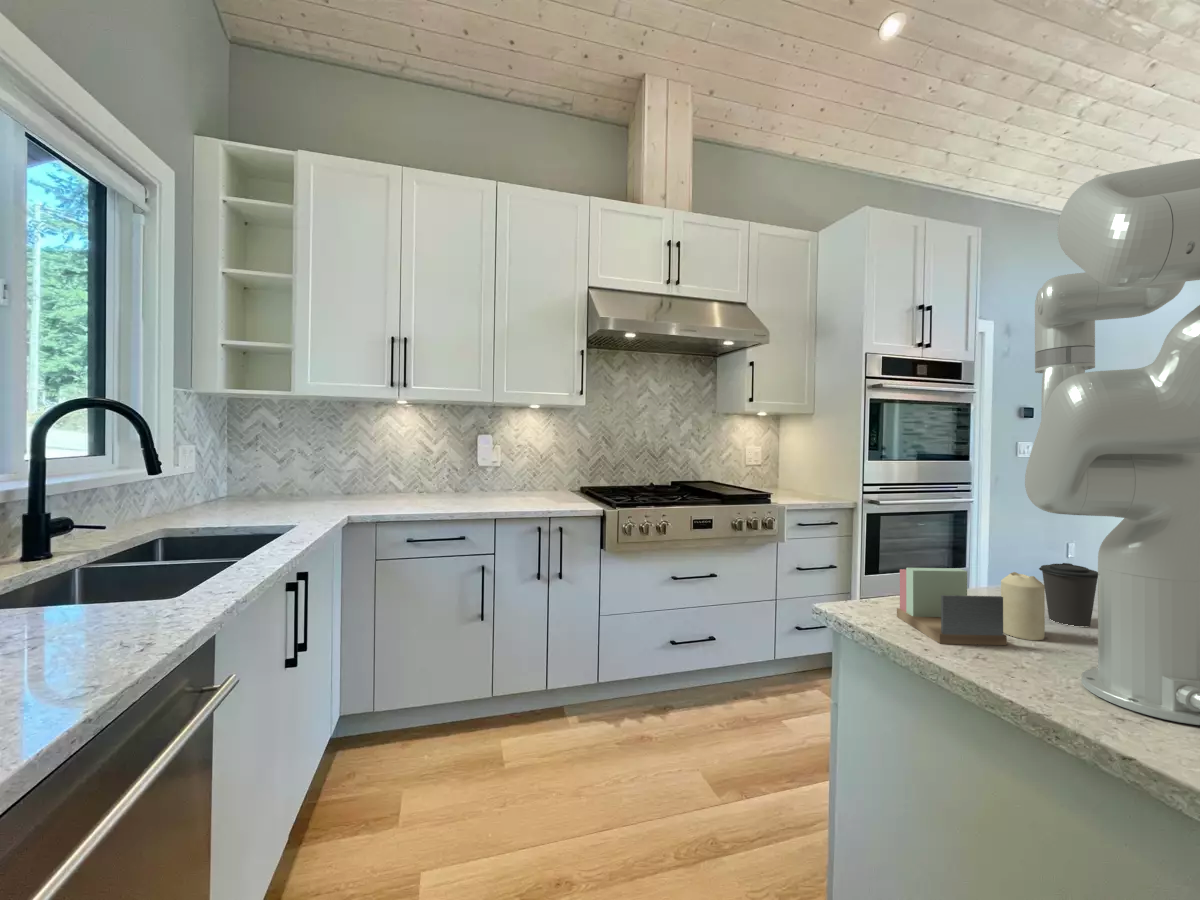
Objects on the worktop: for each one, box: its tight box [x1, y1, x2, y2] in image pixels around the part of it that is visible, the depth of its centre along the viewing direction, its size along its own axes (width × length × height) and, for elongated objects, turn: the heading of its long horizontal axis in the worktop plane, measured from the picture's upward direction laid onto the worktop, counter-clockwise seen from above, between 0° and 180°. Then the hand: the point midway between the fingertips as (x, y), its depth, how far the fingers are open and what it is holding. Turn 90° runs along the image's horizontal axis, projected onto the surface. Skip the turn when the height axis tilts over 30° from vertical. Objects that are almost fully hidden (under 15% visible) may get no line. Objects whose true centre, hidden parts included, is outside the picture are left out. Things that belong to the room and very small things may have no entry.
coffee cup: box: [1038, 562, 1098, 627], centre depth 89 cm, size 8×8×10 cm
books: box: [899, 567, 968, 617], centre depth 90 cm, size 4×9×8 cm, turn 86°
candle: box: [1000, 571, 1046, 641], centre depth 83 cm, size 6×6×10 cm
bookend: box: [941, 595, 1004, 636], centre depth 79 cm, size 1×9×6 cm, turn 87°
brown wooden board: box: [896, 607, 1008, 646], centre depth 85 cm, size 13×10×2 cm
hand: (1064, 462), depth 85 cm, fingers open, 9 cm apart
